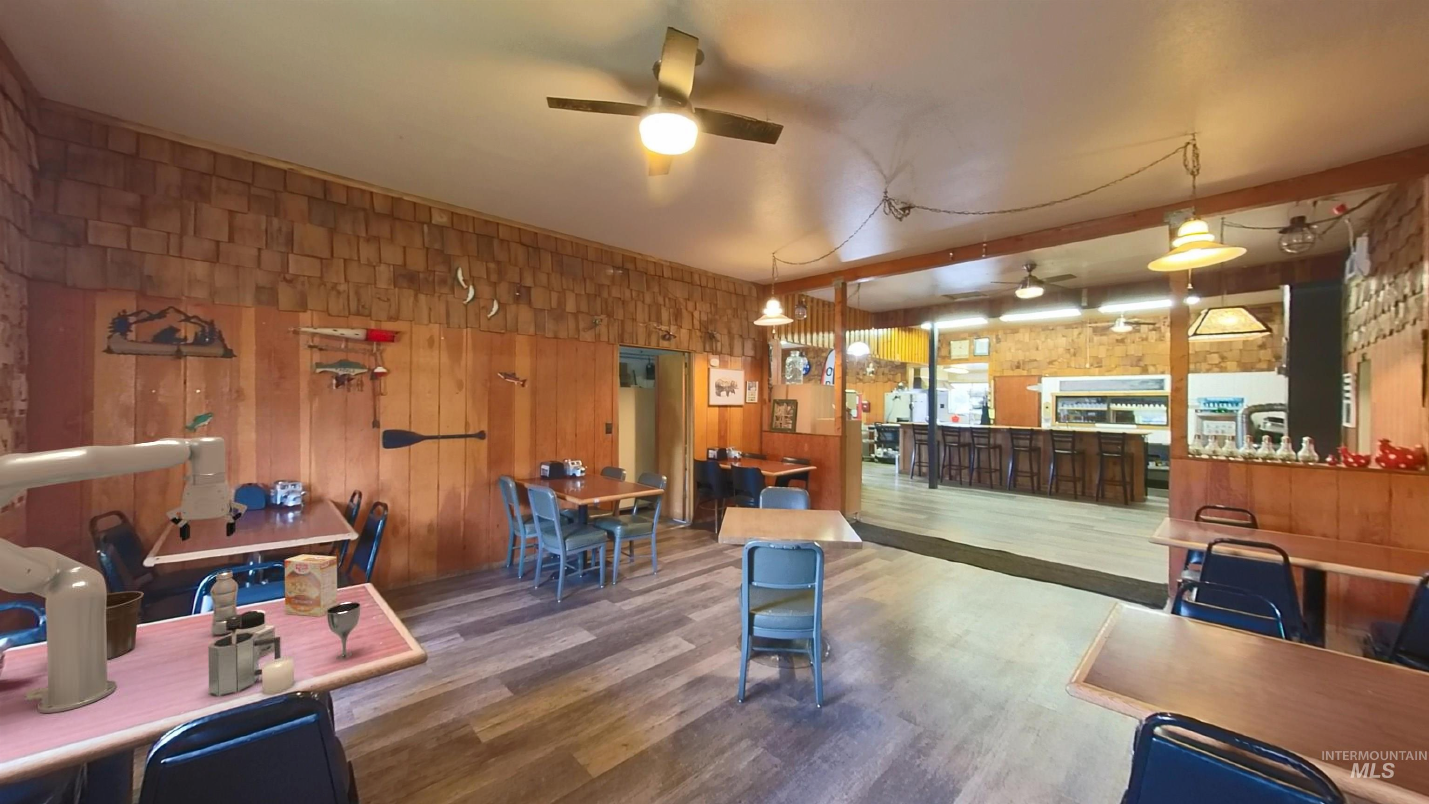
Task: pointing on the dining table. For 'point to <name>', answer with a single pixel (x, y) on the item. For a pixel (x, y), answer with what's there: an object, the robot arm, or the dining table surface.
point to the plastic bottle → (223, 601)
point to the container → (258, 629)
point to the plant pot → (121, 621)
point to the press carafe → (236, 663)
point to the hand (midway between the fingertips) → (208, 537)
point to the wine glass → (343, 622)
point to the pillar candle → (278, 675)
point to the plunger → (233, 625)
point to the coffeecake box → (310, 584)
